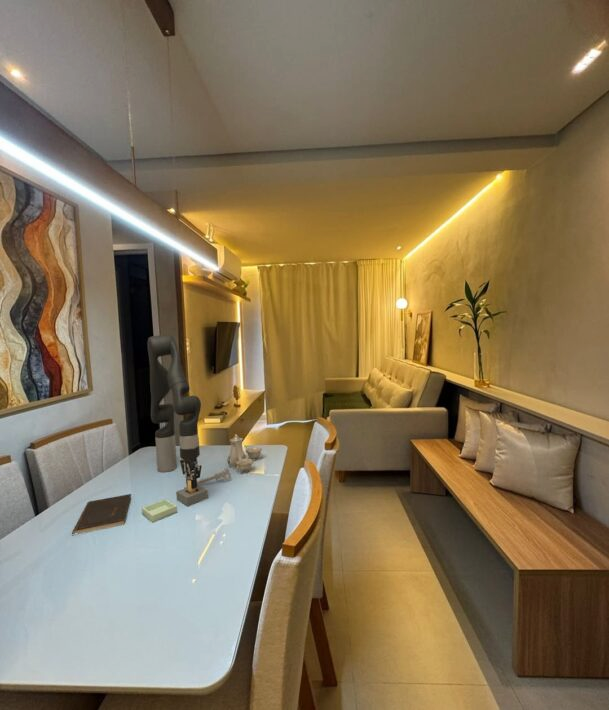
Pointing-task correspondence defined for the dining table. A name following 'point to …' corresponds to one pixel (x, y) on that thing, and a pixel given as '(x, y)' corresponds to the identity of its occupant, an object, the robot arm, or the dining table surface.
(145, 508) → the parts tray
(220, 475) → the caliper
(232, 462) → the chinaware
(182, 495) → the socket block
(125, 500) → the hardcover book
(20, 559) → the dining table surface
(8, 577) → the dining table surface
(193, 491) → the fuse
